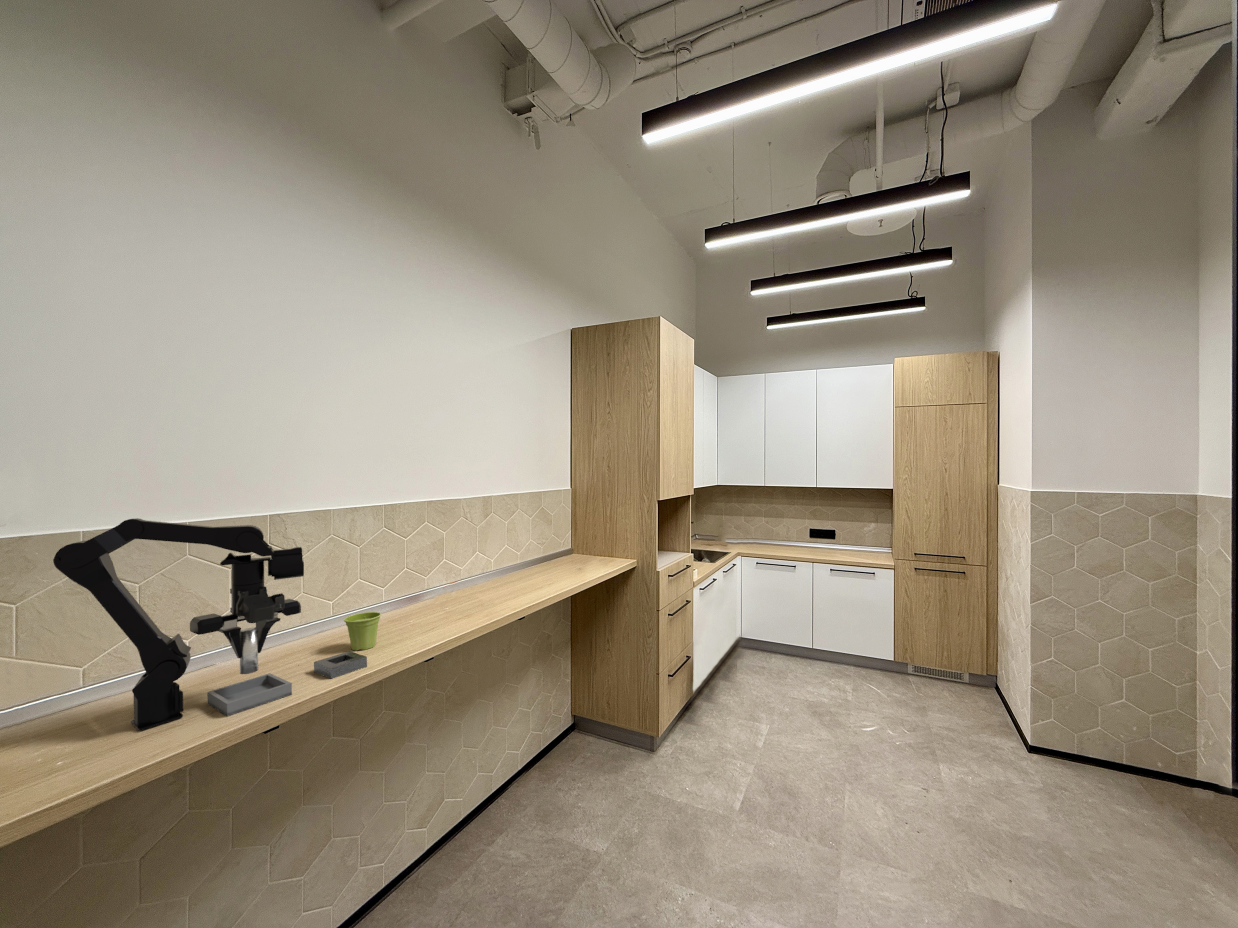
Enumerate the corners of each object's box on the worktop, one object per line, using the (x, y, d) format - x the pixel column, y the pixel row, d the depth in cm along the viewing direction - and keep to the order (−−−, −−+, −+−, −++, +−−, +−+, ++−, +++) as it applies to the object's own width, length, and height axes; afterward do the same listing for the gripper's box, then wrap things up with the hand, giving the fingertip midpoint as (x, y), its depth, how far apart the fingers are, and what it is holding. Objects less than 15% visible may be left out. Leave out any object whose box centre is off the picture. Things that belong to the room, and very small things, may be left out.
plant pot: (356, 655, 133) (356, 622, 133) (337, 650, 138) (336, 618, 138) (388, 644, 141) (388, 613, 141) (369, 640, 146) (368, 610, 146)
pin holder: (331, 678, 116) (330, 668, 116) (314, 671, 121) (313, 661, 121) (367, 666, 123) (366, 656, 124) (349, 660, 128) (349, 650, 128)
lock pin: (243, 675, 105) (242, 632, 105) (237, 672, 106) (237, 630, 107) (260, 670, 107) (260, 628, 108) (255, 667, 109) (254, 626, 109)
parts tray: (227, 716, 99) (227, 703, 99) (207, 703, 105) (207, 691, 105) (291, 694, 108) (291, 682, 108) (269, 683, 115) (269, 672, 115)
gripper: (207, 595, 95) (207, 677, 95) (311, 578, 111) (312, 648, 110) (188, 590, 102) (189, 666, 101) (289, 574, 117) (290, 640, 116)
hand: (248, 655), depth 107 cm, fingers closed on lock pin, 3 cm apart
